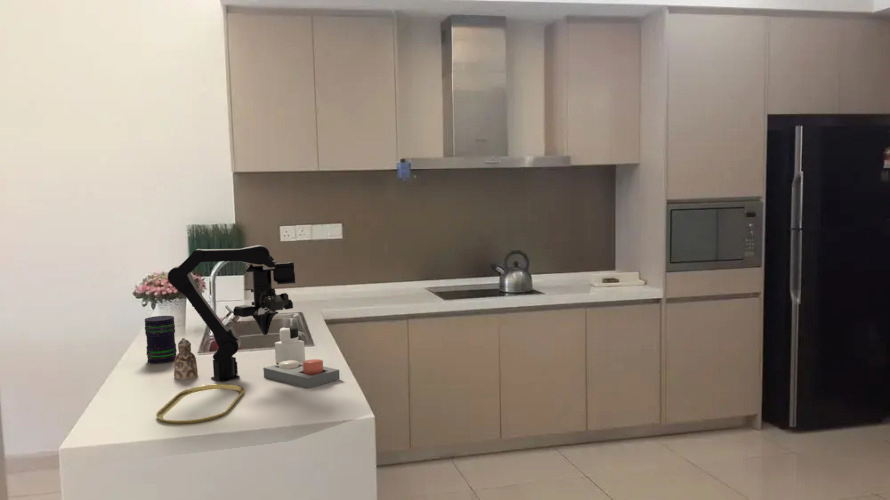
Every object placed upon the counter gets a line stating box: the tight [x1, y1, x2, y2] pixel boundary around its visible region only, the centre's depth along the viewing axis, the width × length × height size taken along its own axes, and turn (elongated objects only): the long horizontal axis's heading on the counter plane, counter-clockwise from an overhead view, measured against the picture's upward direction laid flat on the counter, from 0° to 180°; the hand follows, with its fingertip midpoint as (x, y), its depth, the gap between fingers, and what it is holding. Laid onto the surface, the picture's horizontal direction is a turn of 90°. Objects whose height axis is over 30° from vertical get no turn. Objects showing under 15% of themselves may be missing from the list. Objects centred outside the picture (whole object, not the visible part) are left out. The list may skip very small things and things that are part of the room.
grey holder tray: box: [263, 360, 341, 389], centre depth 240 cm, size 12×22×3 cm, turn 48°
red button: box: [303, 358, 324, 375], centre depth 236 cm, size 6×6×4 cm
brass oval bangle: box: [155, 383, 245, 425], centre depth 215 cm, size 19×35×2 cm, turn 2°
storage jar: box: [144, 315, 178, 365], centre depth 270 cm, size 10×10×15 cm
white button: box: [279, 360, 299, 370], centre depth 244 cm, size 6×6×4 cm
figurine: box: [173, 337, 199, 380], centre depth 247 cm, size 7×7×12 cm
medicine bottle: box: [274, 326, 306, 364], centre depth 261 cm, size 7×7×12 cm
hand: (265, 334), depth 244 cm, fingers closed
